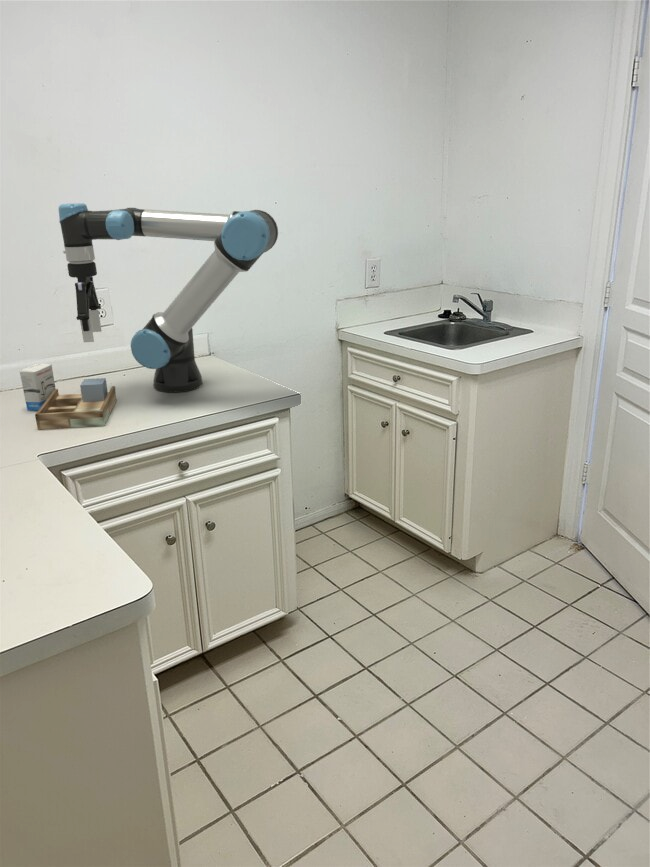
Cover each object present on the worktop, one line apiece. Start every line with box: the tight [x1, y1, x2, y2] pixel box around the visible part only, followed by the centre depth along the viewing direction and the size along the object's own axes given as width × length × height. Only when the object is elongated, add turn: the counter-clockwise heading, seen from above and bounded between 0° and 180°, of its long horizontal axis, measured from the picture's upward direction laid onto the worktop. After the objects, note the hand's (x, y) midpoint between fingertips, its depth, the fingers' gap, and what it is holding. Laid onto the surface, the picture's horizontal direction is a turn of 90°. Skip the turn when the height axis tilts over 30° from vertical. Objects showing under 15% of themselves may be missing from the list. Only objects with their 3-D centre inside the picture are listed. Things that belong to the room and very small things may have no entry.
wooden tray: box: [34, 385, 117, 430], centre depth 180 cm, size 17×22×4 cm
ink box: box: [19, 363, 57, 412], centre depth 185 cm, size 9×5×12 cm, turn 168°
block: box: [79, 377, 109, 402], centre depth 185 cm, size 6×6×5 cm
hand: (92, 336), depth 188 cm, fingers open, 13 cm apart
